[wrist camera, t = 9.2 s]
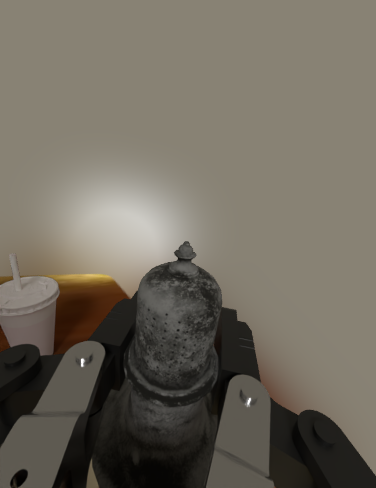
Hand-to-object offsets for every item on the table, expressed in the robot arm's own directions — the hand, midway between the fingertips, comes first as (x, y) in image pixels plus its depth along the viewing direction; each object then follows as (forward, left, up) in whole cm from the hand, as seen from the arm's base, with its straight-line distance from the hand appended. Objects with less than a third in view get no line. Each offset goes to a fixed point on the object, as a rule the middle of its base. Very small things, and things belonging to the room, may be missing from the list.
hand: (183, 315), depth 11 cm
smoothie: (-12, +17, -18) cm, 27 cm away
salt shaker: (-1, -3, -7) cm, 8 cm away
